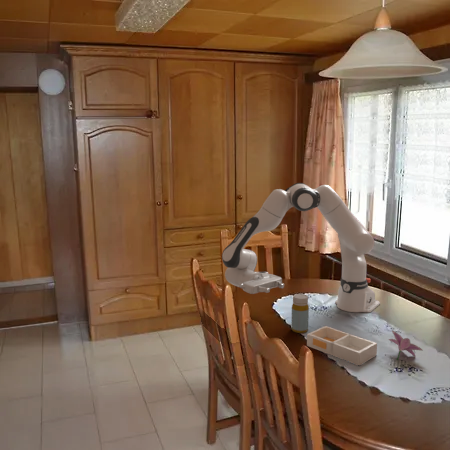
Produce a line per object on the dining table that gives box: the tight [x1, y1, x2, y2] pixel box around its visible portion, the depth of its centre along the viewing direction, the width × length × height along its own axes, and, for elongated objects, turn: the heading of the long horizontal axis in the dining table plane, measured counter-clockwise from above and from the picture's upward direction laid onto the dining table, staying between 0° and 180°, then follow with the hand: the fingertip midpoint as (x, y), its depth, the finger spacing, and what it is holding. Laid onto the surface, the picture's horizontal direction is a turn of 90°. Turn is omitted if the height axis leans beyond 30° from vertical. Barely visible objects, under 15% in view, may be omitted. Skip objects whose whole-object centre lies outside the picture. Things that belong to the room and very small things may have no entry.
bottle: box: [290, 293, 310, 334], centre depth 199 cm, size 7×7×15 cm
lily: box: [387, 330, 423, 361], centre depth 174 cm, size 12×12×10 cm
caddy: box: [306, 325, 378, 366], centre depth 180 cm, size 12×23×5 cm, turn 43°
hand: (275, 288), depth 207 cm, fingers open, 8 cm apart
